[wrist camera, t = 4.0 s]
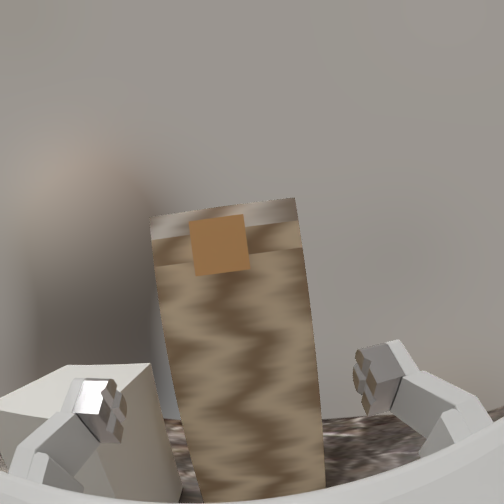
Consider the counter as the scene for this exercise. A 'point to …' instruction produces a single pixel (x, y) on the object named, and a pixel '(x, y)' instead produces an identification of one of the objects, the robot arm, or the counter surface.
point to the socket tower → (243, 356)
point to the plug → (219, 245)
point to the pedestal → (107, 454)
